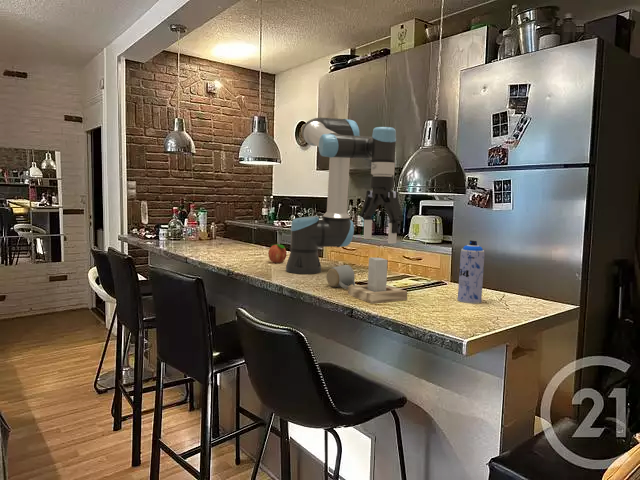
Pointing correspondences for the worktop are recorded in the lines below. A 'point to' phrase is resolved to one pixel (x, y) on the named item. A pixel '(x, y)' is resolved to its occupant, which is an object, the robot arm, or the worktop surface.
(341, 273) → the ceramic mug
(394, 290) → the socket block
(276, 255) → the fruit
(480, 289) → the aerosol can
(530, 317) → the worktop surface
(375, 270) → the skincare box
